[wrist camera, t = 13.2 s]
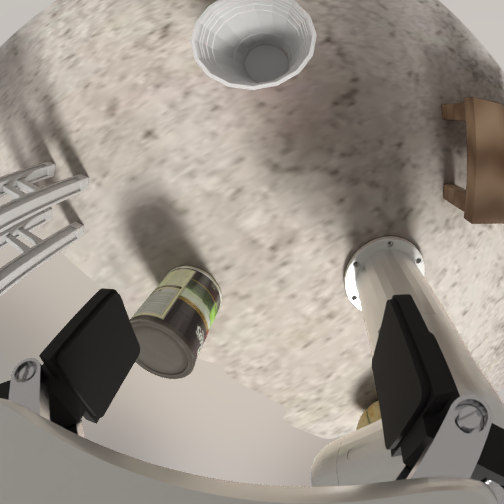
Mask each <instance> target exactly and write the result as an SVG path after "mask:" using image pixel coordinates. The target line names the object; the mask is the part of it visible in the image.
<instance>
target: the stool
mask: <svg viewBox="0 0 504 504" xmlns="http://www.w3.org/2000/svg"><path fill="white" fill-rule="evenodd" d="M54 173H55V164H54V163H52V162H49V161H48V162H45V163H41V164H38V165H35V166H32V167H28V168H25V169H22V170H19V171H16V172H13V173H11V174H8V175H5V176H2V177H0V197H2V196H4V195H6V194H8V195H9V196H11V197H13V198H14V200H12V201H10V202H8V203H6V204H4V205H1V206H0V249H2V248H3V247H5V246H6V245H8V244H10V245H12V246H13V247H14V248H16V249H17V250H18V251H20V252H21V253H22V254H21V255H19V256H18V257H16V258H15V259H13V260H12V261H10V262H9V263H7V264H6V265H4V266H3V267H2V268H0V296H1V295H2V294H4V293H5V292H6V291H7V290H9V289H10V288H11V287H13V286H14V285H15V284H16V283H18V282H19V281H20V280H22V279H23V278H24V277H26V276H27V275H28V274H30V273H31V272H32V271H34V270H35V269H36V268H38V267H39V266H41V265H42V264H43V263H45V262H46V261H47V260H49V259H50V258H52V257H53V256H55V255H56V254H58V253H59V252H61V251H62V250H64V249H65V248H67V247H68V246H70V245H71V244H73V243H74V242H76V241H77V240H79V239H80V238H82V237H83V233H84V225H82V224H80V223H78V222H76V221H75V222H74V223H72V224H70V225H68V226H66V227H65V228H63V229H61V230H59V231H58V232H56V233H54V234H53V235H51V236H49V237H48V238H46V239H44V240H42V239H40V238H38V237H37V236H35V235H34V234H32V233H31V232H30V231H32V230H33V229H35V228H37V227H39V226H41V225H43V224H44V223H46V222H48V221H50V220H52V209H51V208H49V207H51V206H53V205H55V204H57V203H60V202H62V201H64V200H66V199H68V198H71V197H73V196H75V195H78V194H80V193H82V192H85V191H87V190H88V183H89V177H87V176H84V175H82V174H79V175H76V176H73V177H70V178H67V179H64V180H62V181H59V182H56V183H53V184H51V185H48V186H46V187H43V188H40V187H38V186H36V185H34V184H33V183H36V182H39V181H42V180H44V179H47V178H50V177H53V176H54ZM18 189H23V190H25V191H27V192H29V193H28V194H26V193H24V192H22V191H20V190H18ZM20 237H23V238H24V239H26V240H27V241H29V242H30V243H32V244H33V245H35V246H33V247H32V248H30V247H28V246H27V245H25V244H24V243H22V242H21V241H20V240H18V238H20Z"/></svg>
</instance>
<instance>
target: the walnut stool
mask: <svg viewBox="0 0 504 504" xmlns="http://www.w3.org/2000/svg"><path fill="white" fill-rule="evenodd" d="M441 106H442V118H443V119H446V120H454V121H466V128H467V186H466V190H465V189H463V188H461V187H459V186H457V185H452V184H444V193H443V199H445V200H447V201H448V202H450V203H451V204H453V205H455V206H456V207H458V208H459V209H461V210H462V211H464V218H465V219H466V220H467V221H469V222H470V223H472V224H493V223H504V105H502V104H499V103H495V102H491V101H487V100H483V99H479V98H474V97H469V98H464V103H457V104H443V105H441Z"/></svg>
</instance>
